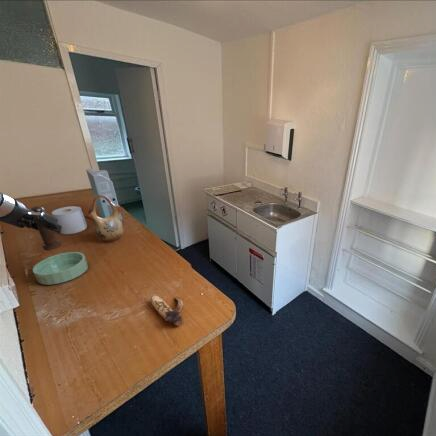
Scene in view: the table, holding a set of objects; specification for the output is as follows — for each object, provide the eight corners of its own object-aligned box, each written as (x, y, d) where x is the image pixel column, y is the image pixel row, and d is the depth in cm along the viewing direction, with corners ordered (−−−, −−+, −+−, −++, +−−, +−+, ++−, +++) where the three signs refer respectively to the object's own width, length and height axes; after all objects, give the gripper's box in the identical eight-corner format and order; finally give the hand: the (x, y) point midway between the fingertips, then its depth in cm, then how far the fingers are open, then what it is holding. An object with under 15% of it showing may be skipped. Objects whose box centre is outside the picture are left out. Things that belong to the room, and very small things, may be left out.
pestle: (40, 250, 90) (21, 209, 82) (48, 244, 94) (31, 204, 87) (56, 249, 91) (39, 208, 84) (64, 242, 95) (48, 203, 88)
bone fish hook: (196, 317, 83) (170, 292, 92) (195, 307, 81) (169, 283, 90) (170, 333, 76) (145, 305, 85) (169, 323, 74) (143, 295, 83)
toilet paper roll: (88, 223, 137) (82, 204, 132) (86, 231, 128) (79, 212, 124) (61, 227, 131) (53, 208, 126) (56, 236, 122) (48, 216, 117)
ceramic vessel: (95, 248, 115) (80, 201, 104) (90, 241, 120) (75, 196, 109) (133, 237, 126) (122, 194, 116) (127, 231, 132) (116, 189, 121)
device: (122, 222, 142) (110, 173, 129) (107, 225, 136) (92, 175, 124) (114, 213, 151) (102, 167, 139) (100, 216, 146) (85, 169, 133)
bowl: (27, 288, 89) (21, 276, 86) (53, 264, 102) (48, 253, 100) (76, 283, 93) (72, 272, 91) (95, 260, 106) (91, 250, 104)
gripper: (-39, 219, 69) (25, 240, 90) (32, 217, 73) (77, 237, 95) (-31, 197, 71) (29, 222, 92) (37, 195, 76) (79, 219, 97)
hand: (53, 229), depth 93 cm, fingers closed on pestle, 4 cm apart
